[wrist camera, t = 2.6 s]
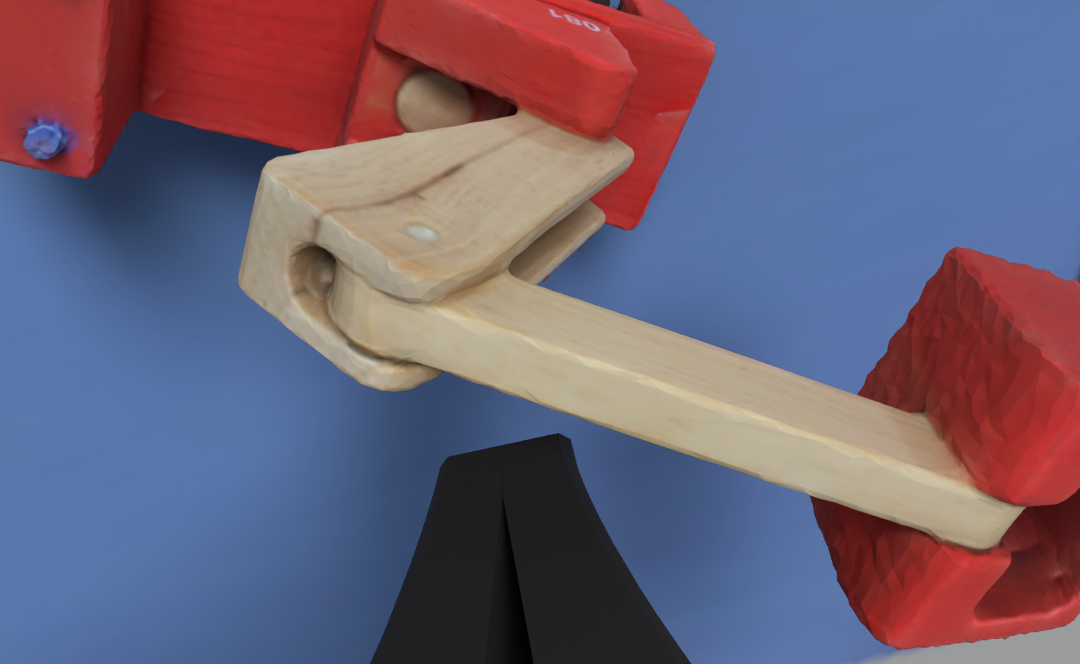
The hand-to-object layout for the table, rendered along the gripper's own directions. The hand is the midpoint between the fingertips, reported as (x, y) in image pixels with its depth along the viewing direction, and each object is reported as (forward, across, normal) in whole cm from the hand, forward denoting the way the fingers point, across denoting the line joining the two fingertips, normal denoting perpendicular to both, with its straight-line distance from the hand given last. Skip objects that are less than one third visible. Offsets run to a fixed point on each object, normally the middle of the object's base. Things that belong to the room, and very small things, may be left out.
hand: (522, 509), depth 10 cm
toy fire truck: (+7, 0, -3) cm, 8 cm away
